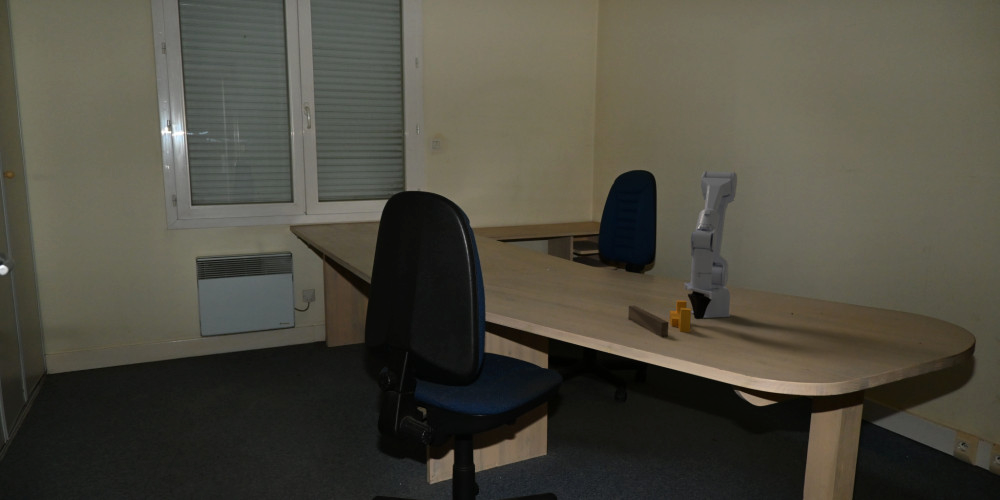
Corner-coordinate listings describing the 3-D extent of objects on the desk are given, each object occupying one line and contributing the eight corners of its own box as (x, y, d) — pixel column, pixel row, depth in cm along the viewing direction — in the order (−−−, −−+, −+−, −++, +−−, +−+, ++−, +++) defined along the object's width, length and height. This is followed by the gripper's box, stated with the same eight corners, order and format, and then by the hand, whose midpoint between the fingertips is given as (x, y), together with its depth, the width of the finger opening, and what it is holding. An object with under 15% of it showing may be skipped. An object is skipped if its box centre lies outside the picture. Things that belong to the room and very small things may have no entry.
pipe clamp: (669, 321, 196) (670, 299, 196) (684, 322, 196) (685, 300, 195) (673, 331, 185) (674, 309, 184) (689, 332, 184) (691, 310, 183)
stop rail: (634, 318, 198) (635, 305, 198) (667, 336, 179) (668, 322, 178) (628, 319, 198) (628, 305, 197) (661, 337, 179) (661, 322, 178)
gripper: (676, 268, 196) (673, 313, 198) (703, 277, 182) (700, 325, 184) (697, 267, 197) (694, 312, 199) (725, 276, 184) (722, 324, 186)
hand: (698, 318), depth 192 cm, fingers closed
